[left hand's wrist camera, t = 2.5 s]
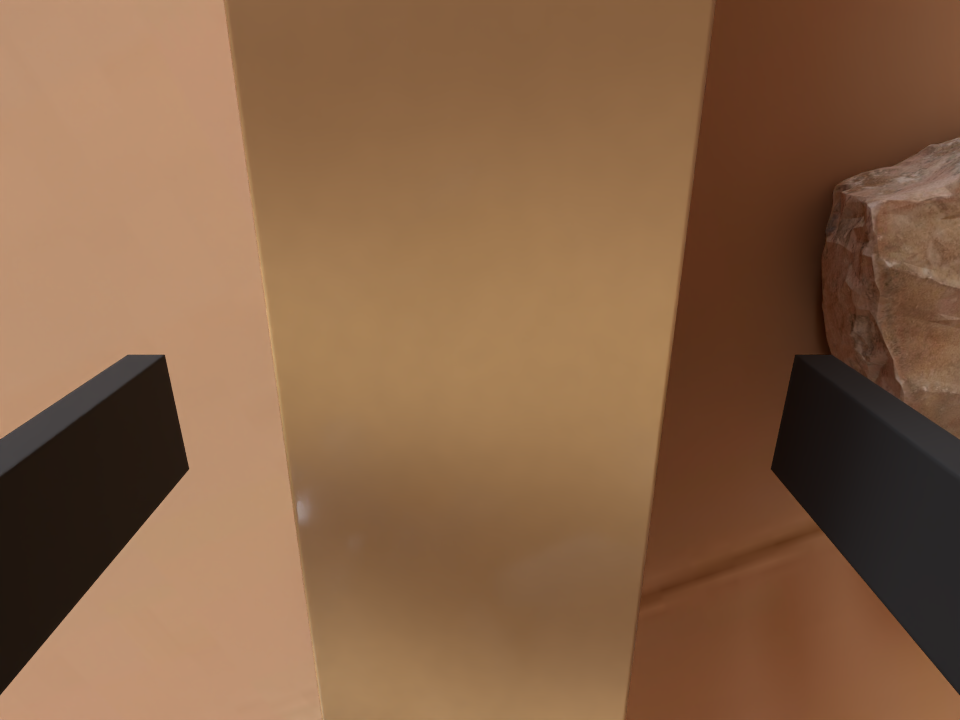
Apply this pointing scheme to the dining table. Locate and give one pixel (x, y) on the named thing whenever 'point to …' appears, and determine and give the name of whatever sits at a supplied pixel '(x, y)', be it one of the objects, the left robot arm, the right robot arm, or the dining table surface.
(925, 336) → the stone
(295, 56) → the post
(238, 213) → the dining table surface
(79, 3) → the dining table surface
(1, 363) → the dining table surface
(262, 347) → the dining table surface
